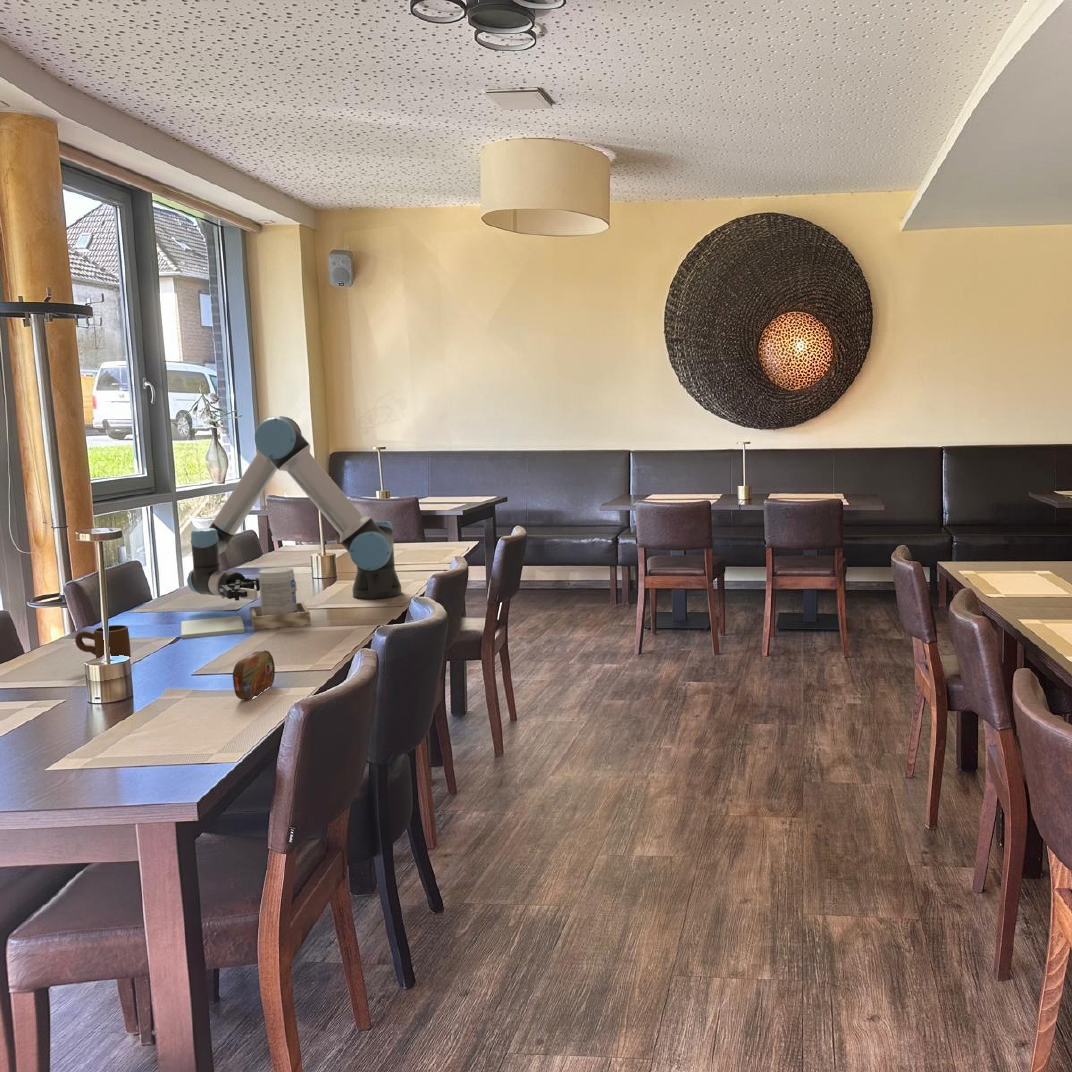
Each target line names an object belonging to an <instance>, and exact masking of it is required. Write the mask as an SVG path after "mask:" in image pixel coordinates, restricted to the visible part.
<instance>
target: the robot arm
mask: <svg viewBox="0 0 1072 1072" xmlns="http://www.w3.org/2000/svg"><path fill="white" fill-rule="evenodd" d="M254 443H255V446H256V448H255V451H256V455H255V457H254V458H253V459H252V461H251V462H250V464H249V466H248V467H247V469H246V470H245V472H244V473H243V474H242V476H241V478H240V479H239V481H238V483H237V485H236V486H235V487H234V488H233V490H232V492H231V494H230V495H229V496H228V498H227V500H226V501H225V503H224V504H223V506H222V507H221V509H220V511H219V512H218V514H217V515H216V516H215V518H214V520H213V522H212V523H211V524H210V525H209V527H204V528H203V527H202V528H197V529H196V528H195V529H193V530H192V531H191V534H190V545H191V554H192V556H191V557H192V564H193V565H192V566H193V567H192V568H193V569H191V570H190V572H188V576H187V579H186V583H187V586H188V588H189V589H190V591H192V592H194V593H197V594H200V595H207V596H216V597H217V596H218V597H221V598H222V599H225V598H227V599H228V600H231V599H234V601H240V599H244V600H245V599H247V600H250V601H251V600H253V601H258V592H260V584H259V577H256V578H248V577H247V578H246V577H245V576H244V574H242V573H241V572H237V571H228V570H221V562H220V555H221V554H222V553H224V552H225V551H227V550H228V548H229V546H230V544H231V541H232V540H233V538H235V537H234V536H235V535H236V534H237V532H238V530H239V529H240V527H241V525H242V524H243V523H244V521H245V520H246V518H247V517H248V515H249V513H250V512H251V511H252V509H253V507H254V506H255V504H256V503H257V501H258V500H259V498H260V497H261V495H262V494H263V492H264V491H265V489H266V488H267V486H268V484H270V481H271V480H272V478H273V477H274V475H275V474H276V472H277V471H284V472H286V473H287V474H288V475H289V476H290V477H291V478H292V480H294V482H295V483H296V484H297V485H298V486H299V488H300V489H301V490H302V491H303V493H305V495H306V497H308V498H309V500H310V501H311V502H312V503H313V504H314V506H315V507H316V508H317V509H318V510H319V511H320V512H321V514H322V515H323V516H324V517H325V518H326V520H327V521H328V522H329V524H331V525H332V527H333V528H334V529H335V531H337V532H338V534H339V543H340V544H341V545H342V546H343V548H344V549H345V550H346V551H347V553H348V554H349V557H350V559H351V561H352V562H353V563H354V565H356V574H355V579H354V581H353V582H354V583H353V586H352V596H353V597H354V598H356V599H366V600H367V599H368V600H371V599H385V598H392V597H395V596H396V597H397V596H399V595H401V594H402V584H401V582H400V579H399V577H398V574H397V571H396V567H395V551H394V547H395V546H394V529H393V524H392V522H391V521H389V520H388V521H387V520H385V521H383V520H382V521H381V520H380V521H374V520H373V519H372V517H371V516H364V515H362V513H361V512H360V511H359V510H358V509H357V508H356V506H355V505H354V504H353V503H352V502H351V500H350V499H349V498H348V497H347V496H346V494H345V493H344V492H343V490H341V488H340V487H339V486H338V484H337V483H335V481H334V480H333V479H332V477H330V475H329V474H328V473H327V472H326V471H325V469H324V468H323V466H321V464H320V463H319V462H318V461H317V460H316V459H315V457H314V456H313V455H312V454H311V445H310V443H309V442H308V441H307V440H306V438H305V437H304V435H303V434H302V431H301V427H300V426H299V424H298V423H297V422H296V421H295V420H293V418H289V417H287V416H284V415H283V416H271V417H268V418H266V419H264V420H262V422H261V423H259V425H258V426H257V427H256V430H255V433H254ZM295 591H296V592H297V581H295Z"/></svg>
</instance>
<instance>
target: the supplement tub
mask: <svg viewBox="0 0 1072 1072" xmlns="http://www.w3.org/2000/svg"><path fill="white" fill-rule="evenodd" d="M258 573H259V574H258V578H259V584H260V590H259V595H260V606H261V609H262V616H265V615H276V614H286V613H296V612H297V605H296V603H297V594H296V593H297V591H295V582H296V579H295V573H294V568H292V567H272V568H266V569H261V570H260V571H258Z"/></svg>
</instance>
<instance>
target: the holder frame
mask: <svg viewBox="0 0 1072 1072" xmlns="http://www.w3.org/2000/svg"><path fill="white" fill-rule="evenodd" d="M296 605H297V612H296V613H286V614H276V615H265V616H262V609H261V605H258V606H250V607H249V614H250V615H249V616H250V622H251V624H252V625H251V626H252V628H253V630H254V629H260V630H264V629H263V628H270V629H278V628H277V627H280V628H287V627H286V626H290V627H296V626H295V625H300V626H306V625H305V624H310V625H311V614H310V613H311V612H310V611H309V608H308V607H307V605H306V604H305V602H304V601H303V602H301V601H299V602H296Z"/></svg>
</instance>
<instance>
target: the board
mask: <svg viewBox="0 0 1072 1072" xmlns="http://www.w3.org/2000/svg"><path fill="white" fill-rule="evenodd" d="M180 627H181V628H180V633H181V634H180V636H181V637H180V639H182V640H183V639H192V638H202V637H210V636H220V635H221V636H223V635H230V634H241V633H245V626H244V622H243V618H242V616H241V615H236V616H234V615H233V616H225V617H213V618H203V619H191V620H182V621H181V626H180Z"/></svg>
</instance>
